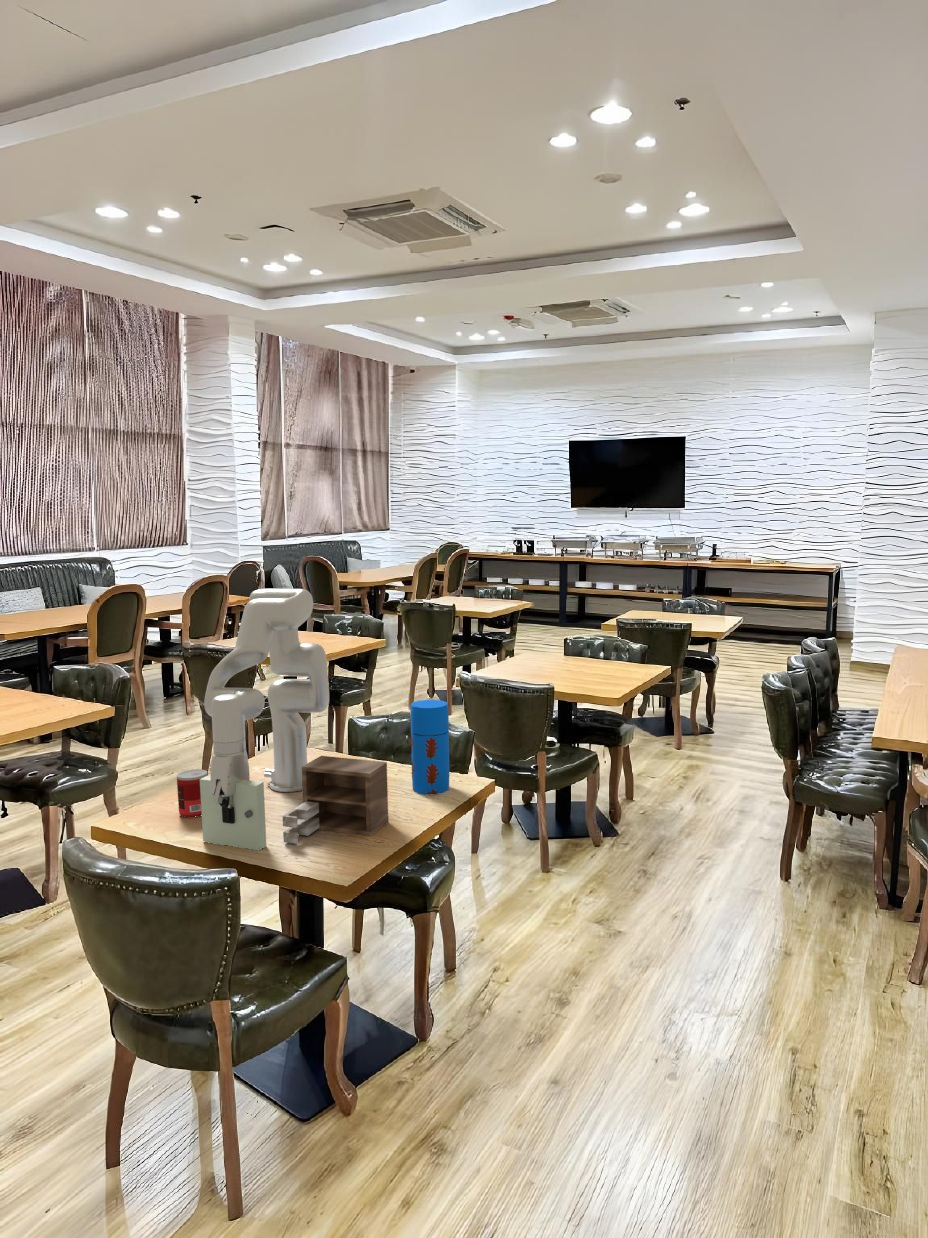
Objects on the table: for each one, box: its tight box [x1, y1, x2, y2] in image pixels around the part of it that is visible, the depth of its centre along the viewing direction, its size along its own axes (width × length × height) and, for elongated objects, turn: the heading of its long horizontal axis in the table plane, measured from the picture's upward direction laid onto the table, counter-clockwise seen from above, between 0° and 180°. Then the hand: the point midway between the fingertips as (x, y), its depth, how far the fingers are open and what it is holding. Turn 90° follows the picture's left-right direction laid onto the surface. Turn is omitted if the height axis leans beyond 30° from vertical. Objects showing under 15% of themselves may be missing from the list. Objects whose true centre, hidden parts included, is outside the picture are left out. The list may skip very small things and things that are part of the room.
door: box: [200, 775, 267, 851], centre depth 209 cm, size 16×4×16 cm, turn 70°
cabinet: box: [282, 755, 389, 845], centre depth 217 cm, size 19×21×16 cm
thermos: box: [409, 699, 450, 796], centre depth 248 cm, size 11×11×25 cm
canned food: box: [176, 768, 209, 818], centre depth 232 cm, size 8×8×11 cm
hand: (233, 819), depth 210 cm, fingers closed on door, 3 cm apart
